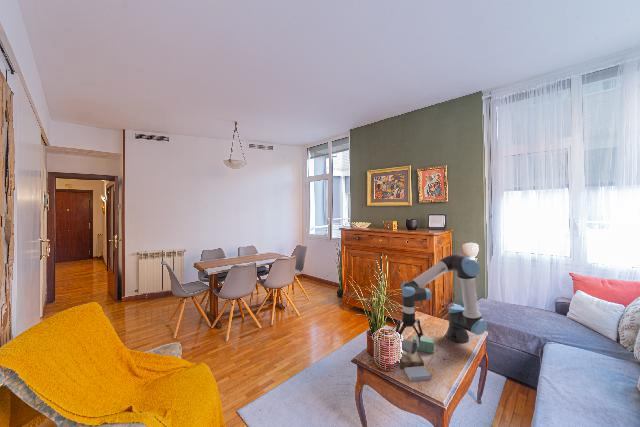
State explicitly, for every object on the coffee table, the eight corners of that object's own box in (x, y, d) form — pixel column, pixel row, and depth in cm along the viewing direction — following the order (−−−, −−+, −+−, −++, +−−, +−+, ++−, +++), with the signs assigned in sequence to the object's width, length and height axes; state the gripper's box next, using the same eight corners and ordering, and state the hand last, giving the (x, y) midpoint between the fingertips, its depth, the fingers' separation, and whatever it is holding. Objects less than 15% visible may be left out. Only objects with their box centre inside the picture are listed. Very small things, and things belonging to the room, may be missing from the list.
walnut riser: (416, 356, 178) (416, 349, 178) (424, 369, 164) (424, 362, 164) (395, 356, 178) (395, 349, 178) (401, 369, 165) (400, 362, 164)
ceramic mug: (405, 347, 177) (405, 335, 176) (417, 351, 171) (416, 340, 171) (397, 354, 169) (396, 342, 169) (409, 359, 164) (408, 346, 163)
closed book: (423, 369, 163) (423, 365, 163) (430, 379, 154) (430, 375, 154) (404, 371, 162) (404, 367, 162) (410, 381, 153) (410, 377, 153)
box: (433, 353, 180) (433, 342, 180) (412, 350, 186) (412, 339, 185) (433, 348, 187) (433, 337, 187) (413, 344, 192) (413, 334, 192)
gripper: (424, 309, 173) (424, 342, 174) (389, 309, 174) (389, 342, 175) (428, 314, 166) (429, 349, 167) (392, 314, 167) (392, 349, 167)
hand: (408, 346), depth 171 cm, fingers closed on ceramic mug, 10 cm apart
